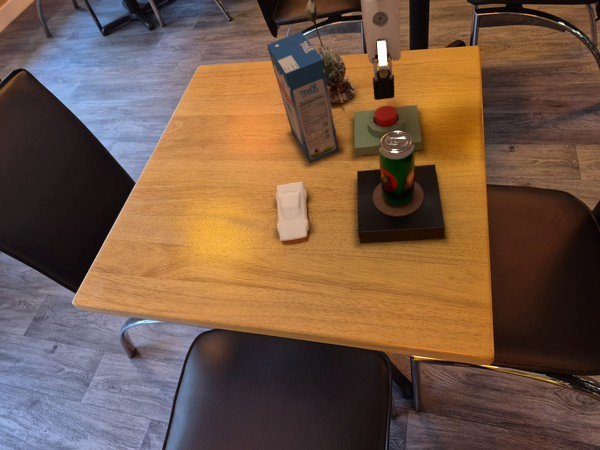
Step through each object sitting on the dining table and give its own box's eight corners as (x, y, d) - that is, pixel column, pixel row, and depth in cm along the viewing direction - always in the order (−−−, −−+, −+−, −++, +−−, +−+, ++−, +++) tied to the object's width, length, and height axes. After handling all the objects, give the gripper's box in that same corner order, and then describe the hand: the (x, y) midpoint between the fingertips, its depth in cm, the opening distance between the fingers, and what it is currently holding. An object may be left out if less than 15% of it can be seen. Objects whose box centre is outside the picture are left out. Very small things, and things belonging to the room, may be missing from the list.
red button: (396, 111, 82) (396, 104, 80) (397, 126, 79) (397, 118, 78) (374, 114, 83) (374, 106, 81) (375, 128, 80) (374, 121, 79)
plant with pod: (317, 114, 91) (297, 24, 76) (318, 80, 98) (300, -9, 82) (356, 109, 90) (344, 16, 74) (354, 75, 97) (343, -17, 81)
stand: (434, 176, 76) (435, 162, 73) (443, 238, 68) (445, 226, 66) (358, 182, 78) (356, 169, 76) (359, 243, 71) (357, 231, 68)
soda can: (412, 209, 68) (412, 155, 59) (379, 206, 70) (374, 153, 61) (416, 185, 71) (417, 129, 62) (384, 182, 73) (381, 128, 63)
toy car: (279, 246, 74) (274, 235, 71) (277, 192, 81) (273, 180, 78) (311, 241, 73) (307, 229, 70) (307, 187, 80) (303, 175, 77)
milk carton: (339, 151, 84) (322, 59, 68) (309, 163, 83) (285, 74, 68) (319, 121, 90) (300, 30, 74) (292, 133, 90) (266, 44, 74)
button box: (416, 113, 86) (417, 97, 82) (421, 150, 80) (422, 133, 77) (355, 120, 88) (353, 104, 85) (355, 156, 82) (353, 140, 79)
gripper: (411, 1, 54) (410, 110, 68) (400, -60, 64) (401, 46, 78) (350, 11, 56) (361, 116, 69) (349, -50, 66) (359, 52, 79)
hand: (382, 79), depth 73 cm, fingers open, 9 cm apart
